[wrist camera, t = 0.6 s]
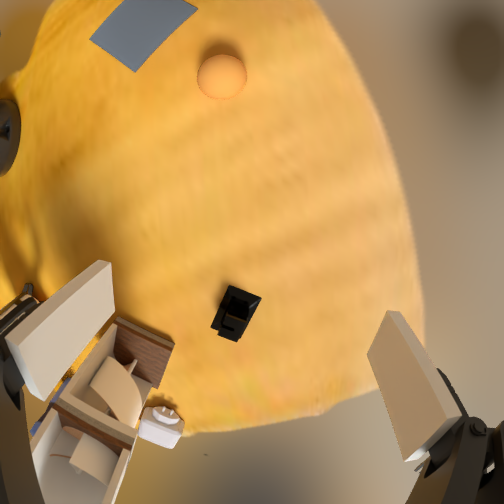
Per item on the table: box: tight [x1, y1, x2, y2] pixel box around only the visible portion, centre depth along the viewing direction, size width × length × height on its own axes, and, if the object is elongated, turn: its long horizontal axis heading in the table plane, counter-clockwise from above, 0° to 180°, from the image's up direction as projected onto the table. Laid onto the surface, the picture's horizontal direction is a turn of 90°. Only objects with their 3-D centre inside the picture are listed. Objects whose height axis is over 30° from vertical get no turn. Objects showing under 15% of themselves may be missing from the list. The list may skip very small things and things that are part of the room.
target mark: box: [89, 0, 198, 72], centre depth 25 cm, size 12×12×1 cm
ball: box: [197, 55, 247, 100], centre depth 26 cm, size 6×6×6 cm
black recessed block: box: [211, 285, 262, 342], centre depth 38 cm, size 12×7×5 cm, turn 157°
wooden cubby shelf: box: [30, 316, 175, 504], centre depth 27 cm, size 11×11×35 cm
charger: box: [138, 406, 185, 449], centre depth 49 cm, size 5×9×15 cm
